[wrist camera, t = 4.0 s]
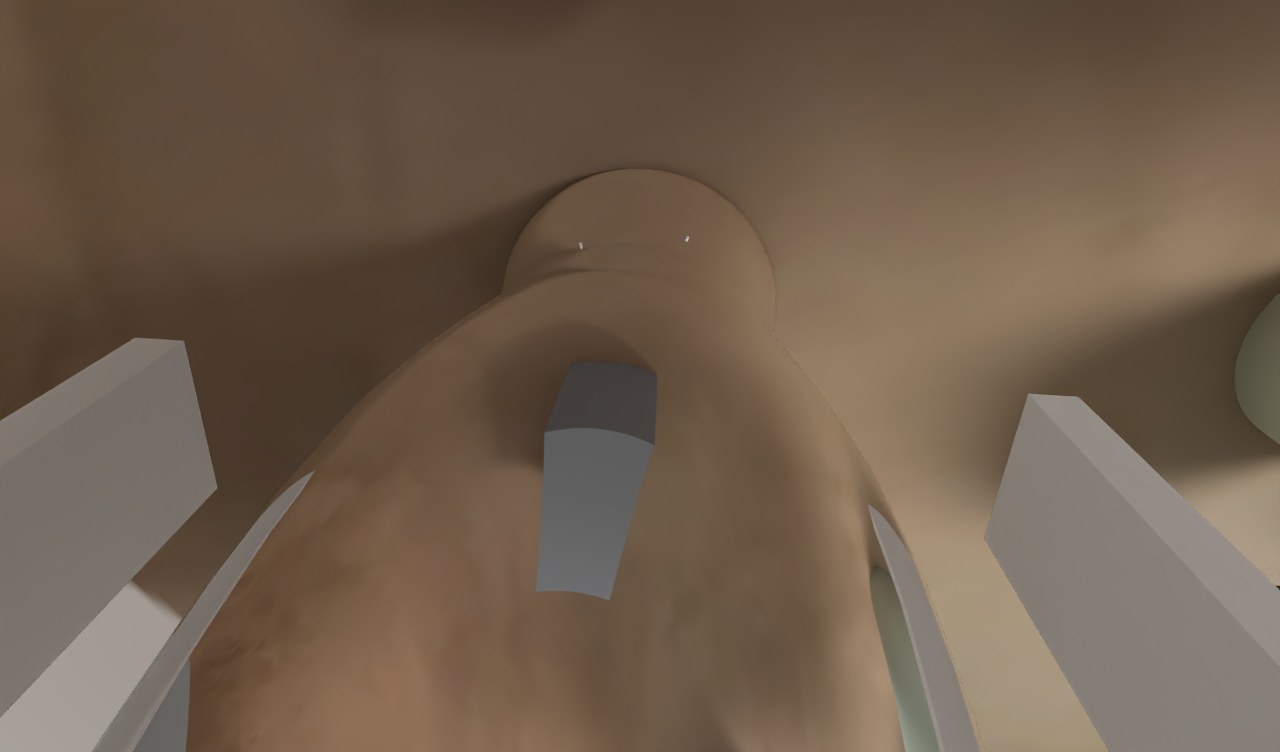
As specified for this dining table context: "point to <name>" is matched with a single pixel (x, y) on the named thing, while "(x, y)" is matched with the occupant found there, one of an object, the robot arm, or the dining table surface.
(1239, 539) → the dining table surface
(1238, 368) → the sage cylinder
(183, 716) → the beer glass
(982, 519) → the dining table surface
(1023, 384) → the dining table surface
